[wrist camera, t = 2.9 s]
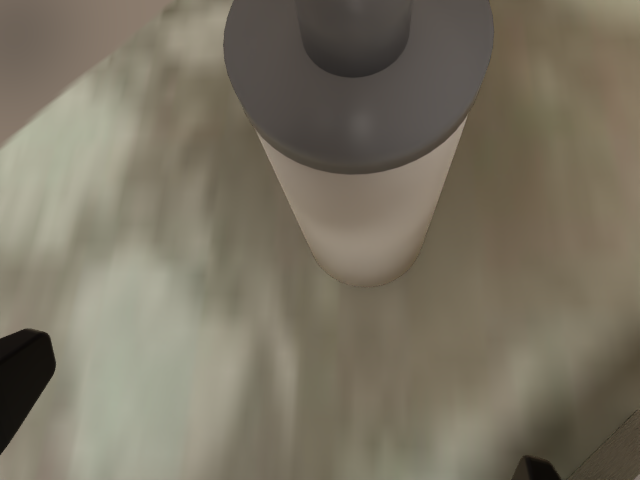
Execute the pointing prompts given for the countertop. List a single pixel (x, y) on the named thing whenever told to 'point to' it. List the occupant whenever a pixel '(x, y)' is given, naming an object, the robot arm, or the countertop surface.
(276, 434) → the countertop surface
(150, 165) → the countertop surface
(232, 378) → the countertop surface
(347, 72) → the white bottle
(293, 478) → the countertop surface
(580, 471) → the studded square plate
